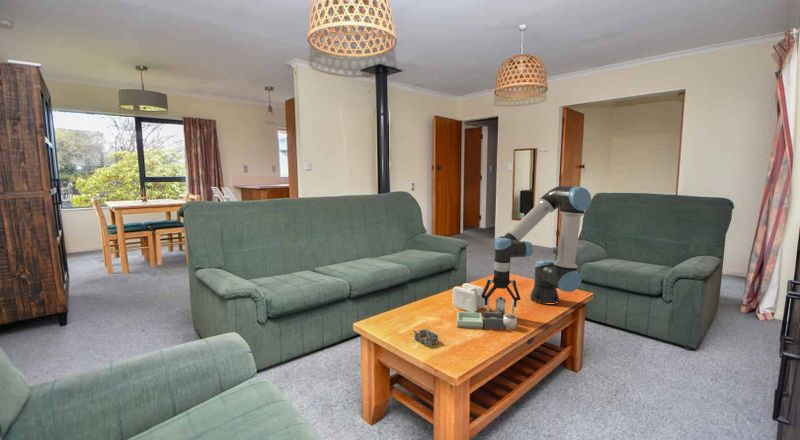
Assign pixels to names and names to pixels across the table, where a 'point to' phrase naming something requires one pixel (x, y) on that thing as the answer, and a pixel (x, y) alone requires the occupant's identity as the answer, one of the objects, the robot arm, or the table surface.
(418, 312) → the table surface
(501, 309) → the steel cell
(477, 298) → the cable organizer
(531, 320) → the table surface
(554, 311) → the table surface
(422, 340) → the dark grey lumpy ring
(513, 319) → the cup
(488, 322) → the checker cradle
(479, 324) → the tray
